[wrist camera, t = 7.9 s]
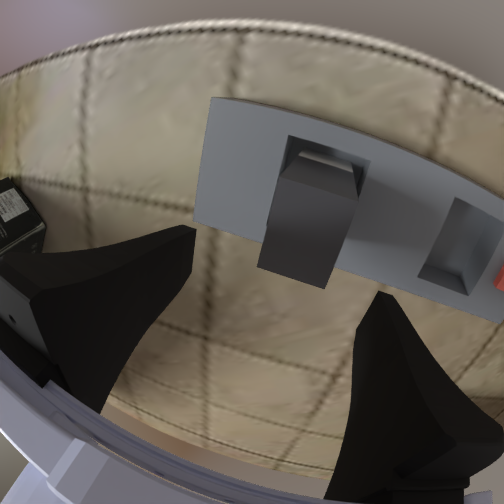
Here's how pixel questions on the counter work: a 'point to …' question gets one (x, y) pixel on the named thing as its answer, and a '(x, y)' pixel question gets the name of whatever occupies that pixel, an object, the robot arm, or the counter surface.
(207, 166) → the power strip
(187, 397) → the counter surface
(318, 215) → the plug
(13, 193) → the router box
